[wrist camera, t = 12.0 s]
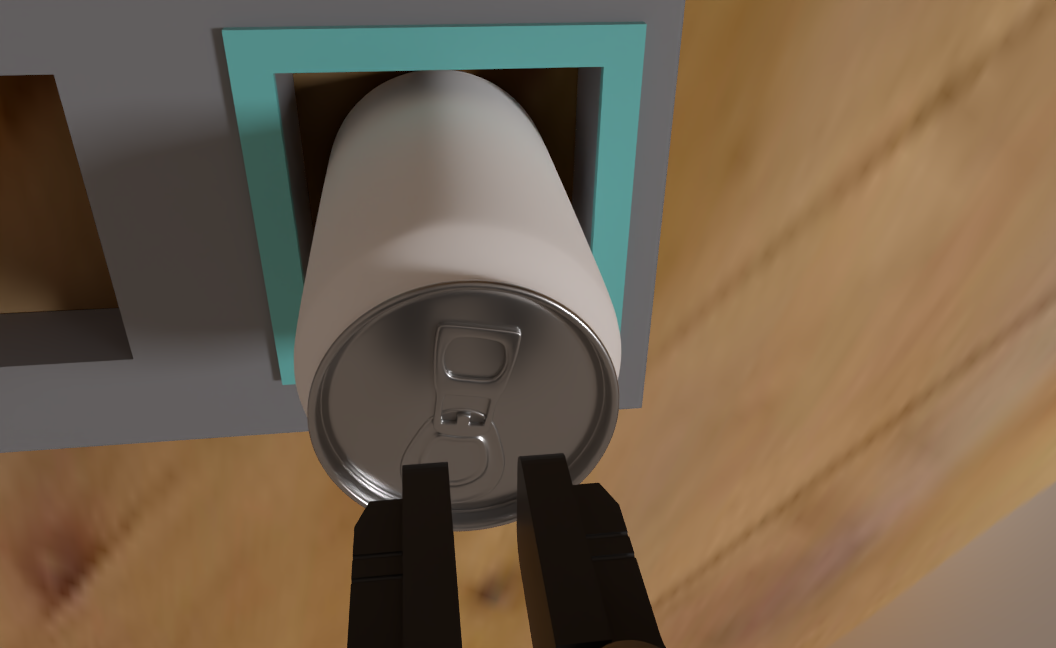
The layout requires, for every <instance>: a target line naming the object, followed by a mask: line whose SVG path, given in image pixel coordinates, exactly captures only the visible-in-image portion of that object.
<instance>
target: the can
mask: <svg viewBox="0 0 1056 648" xmlns="http://www.w3.org/2000/svg"><path fill="white" fill-rule="evenodd" d="M620 364H621V338H620V332H619V326H618V322H617V317H616V314H615V310H614V307H613V304H612V302H611V299H610V296H609V293H608V291H607V288H606V286H605V283H604V281H603V278H602V276H601V273H600V271H599V269H598V266H597V264H596V261H595V259H594V257H593V254H592V252H591V250H590V247H589V245H588V243H587V240H586V238H585V235H584V233H583V231H582V228H581V226H580V224H579V221H578V219H577V217H576V214H575V212H574V210H573V208H572V205H571V203H570V201H569V198H568V196H567V194H566V191H565V189H564V187H563V184H562V182H561V180H560V178H559V175H558V173H557V171H556V168H555V166H554V164H553V162H552V159H551V157H550V155H549V153H548V150H547V148H546V146H545V144H544V142H543V140H542V137H541V135H540V133H539V131H538V130H537V128H536V126H535V124H534V122H533V121H532V119H531V118H530V116H529V115H528V114H527V112H526V111H525V110H524V108H523V107H522V106H521V105H520V104H519V103H518V102H517V101H516V100H515V99H514V98H513V97H512V96H511V95H509V94H508V93H507V92H506V91H504V90H503V89H501V88H500V87H498V86H497V85H495V84H493V83H491V82H489V81H487V80H485V79H483V78H481V77H478V76H475V75H472V74H469V73H465V72H461V71H455V70H421V71H415V72H410V73H407V74H403V75H400V76H398V77H395V78H393V79H390V80H388V81H386V82H384V83H383V84H381V85H379V86H377V87H376V88H374V89H373V90H372V91H370V92H369V93H368V94H366V95H365V96H364V97H363V98H362V99H361V100H360V101H359V102H358V103H357V104H356V105H355V106H354V107H353V108H352V110H351V111H350V112H349V114H348V115H347V116H346V118H345V119H344V121H343V123H342V125H341V127H340V129H339V131H338V133H337V135H336V138H335V140H334V143H333V146H332V150H331V154H330V158H329V162H328V167H327V171H326V176H325V181H324V186H323V191H322V196H321V201H320V206H319V211H318V216H317V221H316V226H315V231H314V236H313V241H312V246H311V252H310V257H309V262H308V267H307V272H306V278H305V283H304V288H303V294H302V299H301V305H300V310H299V316H298V322H297V329H296V336H295V344H294V375H295V382H296V387H297V392H298V395H299V399H300V401H301V404H302V407H303V409H304V411H305V414H306V416H307V420H308V429H309V434H310V438H311V442H312V445H313V448H314V451H315V453H316V455H317V458H318V460H319V461H320V463H321V465H322V467H323V468H324V470H325V471H326V473H327V474H328V476H329V477H330V478H331V479H332V481H333V482H334V483H335V484H336V485H337V486H338V487H339V488H340V489H341V490H342V491H343V492H344V493H345V494H346V495H348V496H349V497H350V498H351V499H353V500H354V501H355V502H357V503H358V504H360V505H361V506H363V507H364V508H366V507H367V505H368V503H369V502H370V501H379V500H391V499H402V465H410V464H423V463H436V462H448V469H449V482H450V495H451V508H452V521H453V531H472V530H481V529H487V528H493V527H497V526H501V525H505V524H509V523H512V522H515V521H517V462H518V457H519V456H529V455H542V454H555V453H564V455H565V457H566V461H567V465H568V469H569V473H570V476H571V480H572V484H573V485H578V484H580V483H581V482H582V481H583V480H584V479H585V478H586V477H587V476H588V475H589V474H590V472H591V471H592V470H593V469H594V468H595V466H596V465H597V463H598V462H599V461H600V459H601V458H602V456H603V454H604V453H605V451H606V449H607V447H608V445H609V443H610V440H611V438H612V435H613V433H614V430H615V426H616V422H617V418H618V411H619V386H618V377H619V371H620Z"/></svg>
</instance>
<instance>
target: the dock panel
mask: <svg viewBox="0 0 1056 648" xmlns="http://www.w3.org/2000/svg"><path fill="white" fill-rule="evenodd" d="M684 7H685V0H0V75H50V74H54V77H55V81H56V85H57V88H58V92H59V95H60V99H61V102H62V106H63V109H64V113H65V117H66V120H67V124H68V127H69V131H70V134H71V138H72V142H73V145H74V149H75V152H76V156H77V159H78V163H79V166H80V170H81V174H82V177H83V181H84V184H85V188H86V191H87V195H88V199H89V202H90V206H91V209H92V213H93V216H94V220H95V224H96V227H97V231H98V234H99V238H100V241H101V245H102V248H103V252H104V256H105V259H106V263H107V266H108V270H109V273H110V277H111V281H112V284H113V288H114V291H115V295H116V298H117V302H118V306H119V308H109V309H90V310H70V311H51V312H31V313H12V314H0V453H4V452H18V451H32V450H46V449H61V448H75V447H89V446H103V445H118V444H132V443H146V442H160V441H175V440H189V439H203V438H218V437H232V436H246V435H260V434H275V433H289V432H303V431H309V429H308V420H307V416H306V414H305V411H304V409H303V407H302V404H301V401H300V399H299V395H298V392H297V387H296V382H295V375H294V344H295V336H296V329H297V322H298V316H299V310H300V305H301V299H302V294H303V288H304V283H305V278H306V272H307V267H308V262H309V257H310V252H311V246H312V241H313V236H314V233H313V225H312V217H311V210H310V202H309V195H308V187H307V180H306V172H305V164H304V157H303V149H302V142H301V134H300V127H299V119H298V111H297V104H296V96H295V89H294V81H293V74H292V73H317V72H366V71H415V70H464V69H513V68H562V67H578V83H577V105H576V127H575V149H574V171H573V193H572V208H573V210H574V212H575V214H576V217H577V219H578V221H579V224H580V226H581V228H582V231H583V233H584V235H585V238H586V240H587V243H588V245H589V247H590V250H591V252H592V254H593V257H594V259H595V261H596V264H597V266H598V269H599V271H600V273H601V276H602V278H603V281H604V283H605V286H606V288H607V291H608V293H609V296H610V299H611V302H612V304H613V307H614V310H615V314H616V317H617V322H618V326H619V332H620V338H621V364H620V371H619V377H618V386H619V409H631V408H642V399H643V390H644V381H645V371H646V362H647V353H648V343H649V334H650V325H651V315H652V306H653V297H654V287H655V278H656V269H657V259H658V250H659V241H660V231H661V222H662V213H663V203H664V194H665V185H666V175H667V166H668V157H669V147H670V138H671V129H672V119H673V110H674V101H675V91H676V82H677V73H678V63H679V54H680V45H681V35H682V26H683V17H684Z"/></svg>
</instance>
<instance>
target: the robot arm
mask: <svg viewBox="0 0 1056 648" xmlns="http://www.w3.org/2000/svg"><path fill="white" fill-rule="evenodd" d="M517 543H518V554H519V563H520V569H521V575H522V582H523V588H524V594H525V600H526V607H527V613H528V619H529V625H530V632H531V638H532V644H533V648H666V647H665V645H664V643H663V641H662V638H661V636H660V633H659V630H658V626H657V623H656V620H655V617H654V614H653V611H652V607H651V604H650V601H649V598H648V595H647V592H646V588H645V585H644V582H643V579H642V576H641V573H640V569H639V566H638V563H637V560H636V558H635V557H634V551H633V547H632V544H631V541H630V538H629V536H628V534H627V528H626V525H625V522H624V519H623V516H622V513H621V509H620V506H619V504H618V503H617V502H616V501H615V500H614V499H613V498H612V497H611V495H610V494H609V493H608V492H607V491H606V490H605V489H604V488H603V487H602V486H601V485H600V483H590V484H578V485H573V484H572V480H571V476H570V473H569V469H568V465H567V461H566V457H565V455H564V453H555V454H542V455H529V456H519V457H518V462H517ZM351 579H352V584H351V593H350V609H349V626H348V643H347V648H462V640H461V627H460V614H459V600H458V587H457V574H456V561H455V548H454V535H453V521H452V508H451V495H450V482H449V469H448V462H436V463H423V464H410V465H402V499H391V500H379V501H370V502H369V503H368V505H367V507H366V508H365V510H364V512H363V513H362V515H361V517H360V518H359V520H358V522H357V524H356V525H355V527H354V543H353V561H352V576H351Z"/></svg>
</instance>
